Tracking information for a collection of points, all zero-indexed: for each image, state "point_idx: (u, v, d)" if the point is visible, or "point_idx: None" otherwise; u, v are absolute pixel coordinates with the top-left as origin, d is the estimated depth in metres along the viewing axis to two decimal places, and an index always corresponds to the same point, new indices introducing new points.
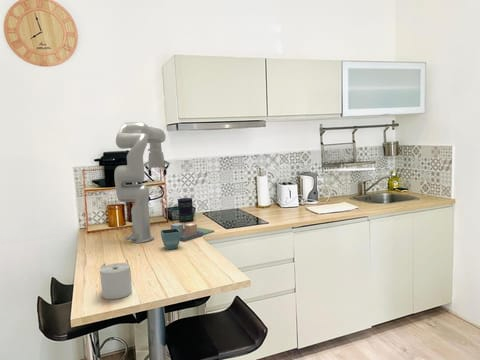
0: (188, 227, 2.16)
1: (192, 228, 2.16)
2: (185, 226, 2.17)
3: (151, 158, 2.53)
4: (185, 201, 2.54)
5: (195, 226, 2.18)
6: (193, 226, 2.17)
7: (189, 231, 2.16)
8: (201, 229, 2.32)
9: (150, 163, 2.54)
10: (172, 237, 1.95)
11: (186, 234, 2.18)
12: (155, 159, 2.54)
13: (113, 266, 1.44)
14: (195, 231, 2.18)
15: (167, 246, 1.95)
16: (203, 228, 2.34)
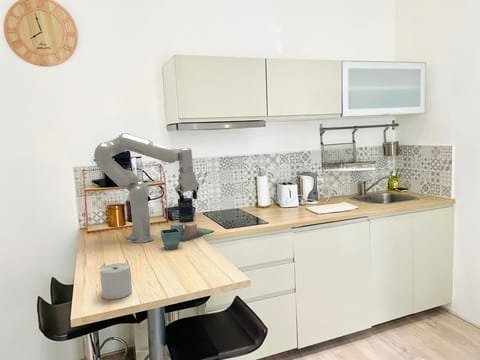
0: (188, 227, 2.16)
1: (192, 228, 2.16)
2: (185, 226, 2.17)
3: (186, 180, 2.13)
4: (185, 201, 2.54)
5: (195, 226, 2.18)
6: (193, 226, 2.17)
7: (189, 231, 2.16)
8: (201, 229, 2.32)
9: (185, 186, 2.12)
10: (172, 237, 1.95)
11: (186, 234, 2.18)
12: (190, 181, 2.14)
13: (113, 266, 1.44)
14: (195, 231, 2.18)
15: (167, 246, 1.95)
16: (203, 228, 2.34)
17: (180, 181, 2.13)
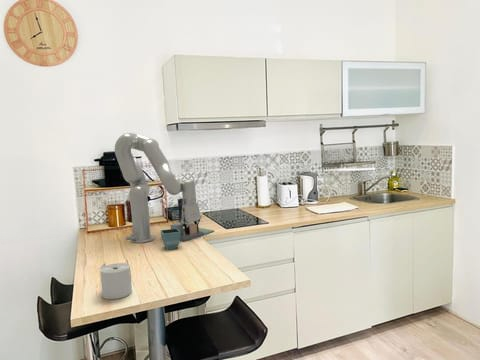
0: None
1: (192, 228, 2.16)
2: None
3: (190, 211, 2.14)
4: None
5: (195, 226, 2.18)
6: (193, 226, 2.17)
7: (189, 231, 2.16)
8: (201, 229, 2.32)
9: (189, 217, 2.13)
10: (172, 237, 1.95)
11: (186, 234, 2.18)
12: (193, 212, 2.16)
13: (113, 266, 1.44)
14: (195, 231, 2.18)
15: (167, 246, 1.95)
16: (203, 228, 2.34)
17: (183, 213, 2.14)
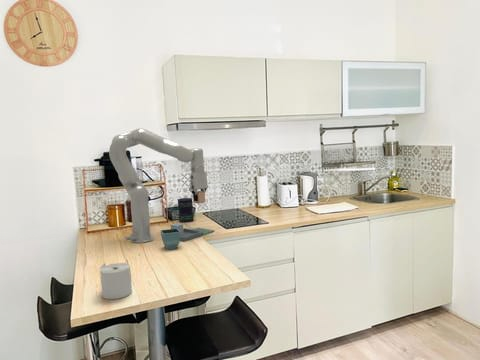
0: (197, 194, 2.24)
1: (200, 195, 2.25)
2: None
3: (198, 179, 2.22)
4: (185, 201, 2.54)
5: (203, 193, 2.26)
6: (201, 193, 2.25)
7: None
8: (201, 229, 2.32)
9: (197, 184, 2.22)
10: (172, 237, 1.95)
11: (194, 201, 2.26)
12: (201, 180, 2.24)
13: (113, 266, 1.44)
14: (203, 198, 2.26)
15: (167, 246, 1.95)
16: (203, 228, 2.34)
17: (191, 180, 2.22)
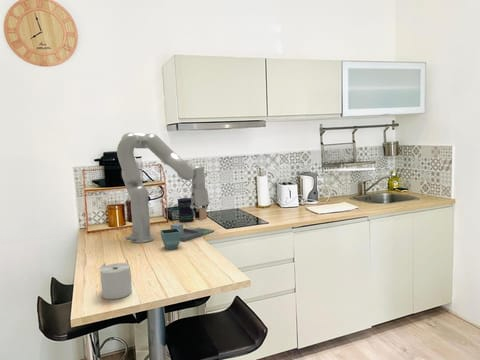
0: None
1: (202, 212, 2.26)
2: None
3: (199, 196, 2.23)
4: (185, 201, 2.54)
5: (205, 210, 2.28)
6: (203, 210, 2.26)
7: (199, 214, 2.26)
8: (201, 229, 2.32)
9: (198, 202, 2.23)
10: (172, 237, 1.95)
11: None
12: (202, 197, 2.25)
13: (113, 266, 1.44)
14: (204, 215, 2.28)
15: (167, 246, 1.95)
16: (203, 228, 2.34)
17: (193, 197, 2.23)
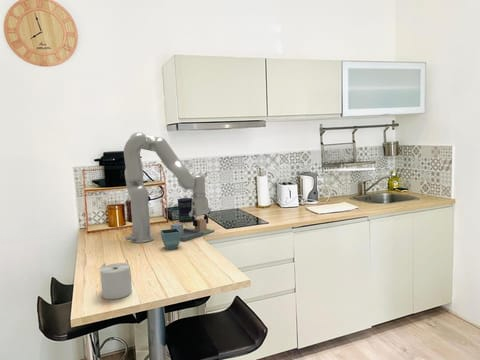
0: (198, 222, 2.26)
1: (202, 223, 2.27)
2: None
3: (199, 205, 2.24)
4: (185, 201, 2.54)
5: (204, 221, 2.28)
6: (203, 221, 2.27)
7: (199, 226, 2.26)
8: None
9: (198, 211, 2.24)
10: (172, 237, 1.95)
11: (196, 229, 2.28)
12: (202, 206, 2.26)
13: (113, 266, 1.44)
14: (204, 226, 2.29)
15: (167, 246, 1.95)
16: None
17: (193, 206, 2.24)
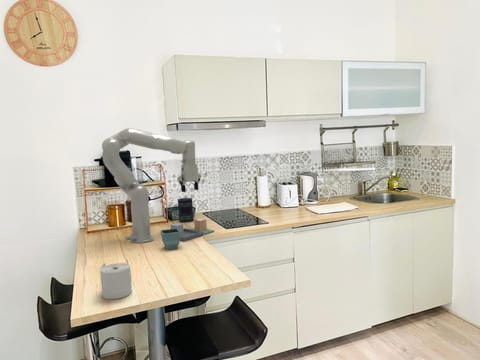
0: (198, 222, 2.26)
1: (202, 223, 2.27)
2: (195, 221, 2.28)
3: (188, 171, 2.22)
4: (185, 201, 2.54)
5: (204, 221, 2.28)
6: (203, 221, 2.27)
7: (199, 226, 2.26)
8: None
9: (187, 176, 2.22)
10: (172, 237, 1.95)
11: (196, 229, 2.28)
12: (192, 172, 2.24)
13: (113, 266, 1.44)
14: (204, 226, 2.29)
15: (167, 246, 1.95)
16: None
17: (182, 172, 2.23)
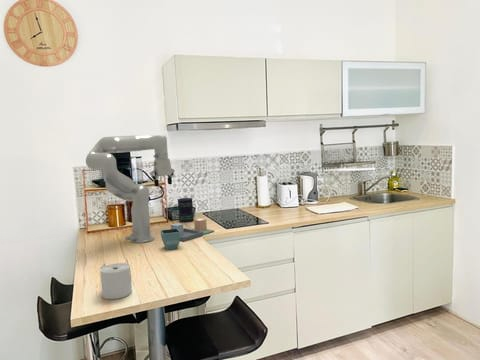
0: (198, 222, 2.26)
1: (202, 223, 2.27)
2: (195, 221, 2.28)
3: (161, 165, 2.26)
4: (185, 201, 2.54)
5: (204, 221, 2.28)
6: (203, 221, 2.27)
7: (199, 226, 2.26)
8: None
9: (160, 171, 2.25)
10: (172, 237, 1.95)
11: (196, 229, 2.28)
12: (164, 167, 2.27)
13: (113, 266, 1.44)
14: (204, 226, 2.29)
15: (167, 246, 1.95)
16: None
17: (155, 166, 2.26)
